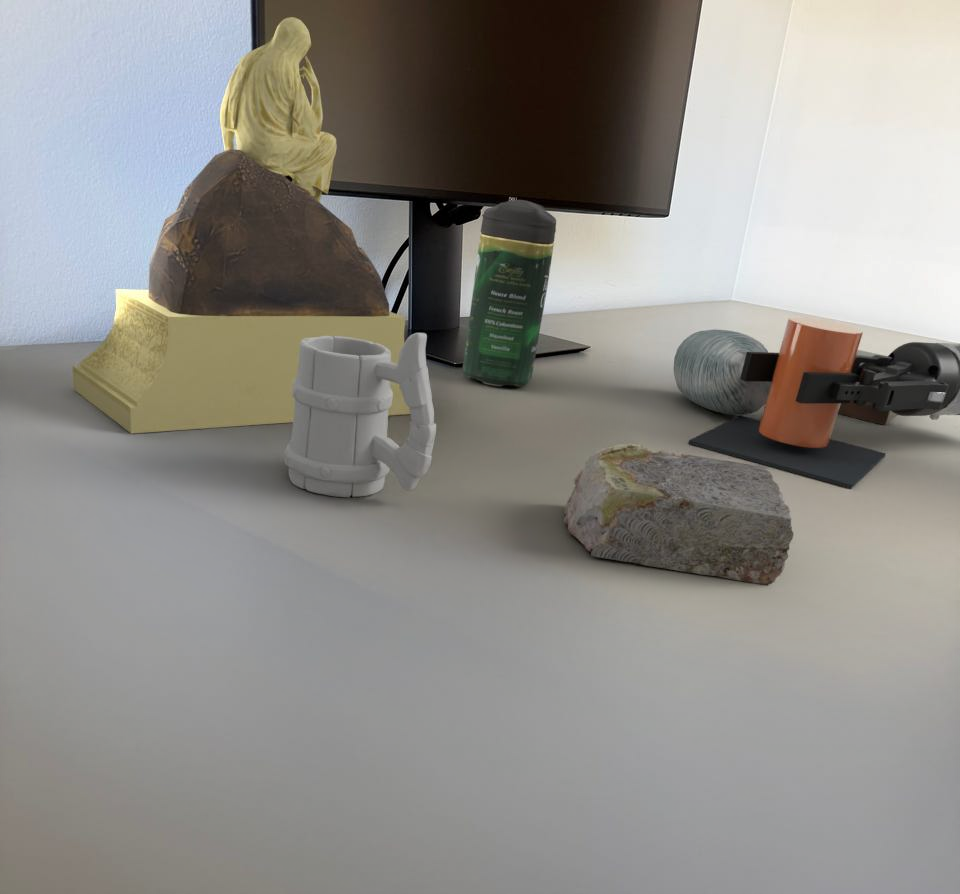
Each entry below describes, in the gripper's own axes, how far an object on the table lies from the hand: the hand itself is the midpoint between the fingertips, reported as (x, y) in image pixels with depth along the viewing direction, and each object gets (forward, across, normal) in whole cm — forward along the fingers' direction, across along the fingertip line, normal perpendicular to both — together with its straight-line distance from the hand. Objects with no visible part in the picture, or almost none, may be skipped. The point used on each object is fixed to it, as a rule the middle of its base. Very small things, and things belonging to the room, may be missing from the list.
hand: (773, 376), depth 93 cm
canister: (-5, 0, -6) cm, 8 cm away
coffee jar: (+14, +27, -8) cm, 31 cm away
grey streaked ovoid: (-11, +14, -5) cm, 18 cm away
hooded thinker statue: (+45, +18, -8) cm, 49 cm away
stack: (-31, +17, -7) cm, 36 cm away
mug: (+44, -5, -8) cm, 45 cm away
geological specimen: (+26, -19, -8) cm, 33 cm away
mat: (-5, 0, -7) cm, 9 cm away
